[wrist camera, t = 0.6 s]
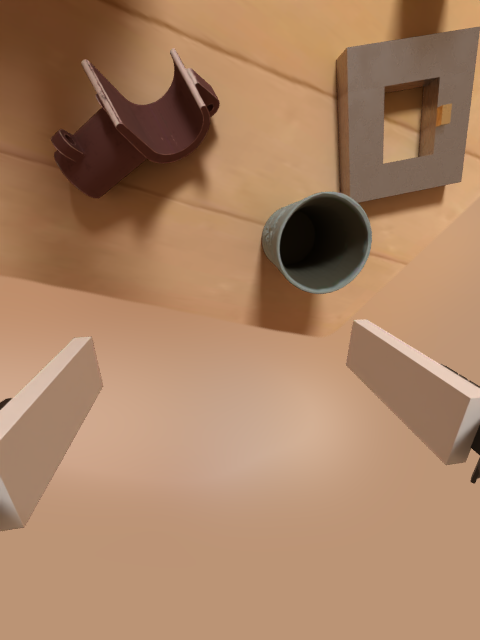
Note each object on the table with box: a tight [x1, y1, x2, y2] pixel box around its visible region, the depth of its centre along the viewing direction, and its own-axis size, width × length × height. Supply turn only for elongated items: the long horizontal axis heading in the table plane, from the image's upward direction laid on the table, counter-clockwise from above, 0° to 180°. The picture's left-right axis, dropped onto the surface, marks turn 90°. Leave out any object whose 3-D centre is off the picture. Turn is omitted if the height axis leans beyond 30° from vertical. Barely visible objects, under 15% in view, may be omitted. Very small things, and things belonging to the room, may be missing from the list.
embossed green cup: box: [262, 192, 372, 294], centre depth 33 cm, size 10×10×12 cm
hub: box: [336, 27, 480, 203], centre depth 34 cm, size 16×16×3 cm
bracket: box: [51, 48, 220, 198], centre depth 27 cm, size 6×17×10 cm, turn 122°
